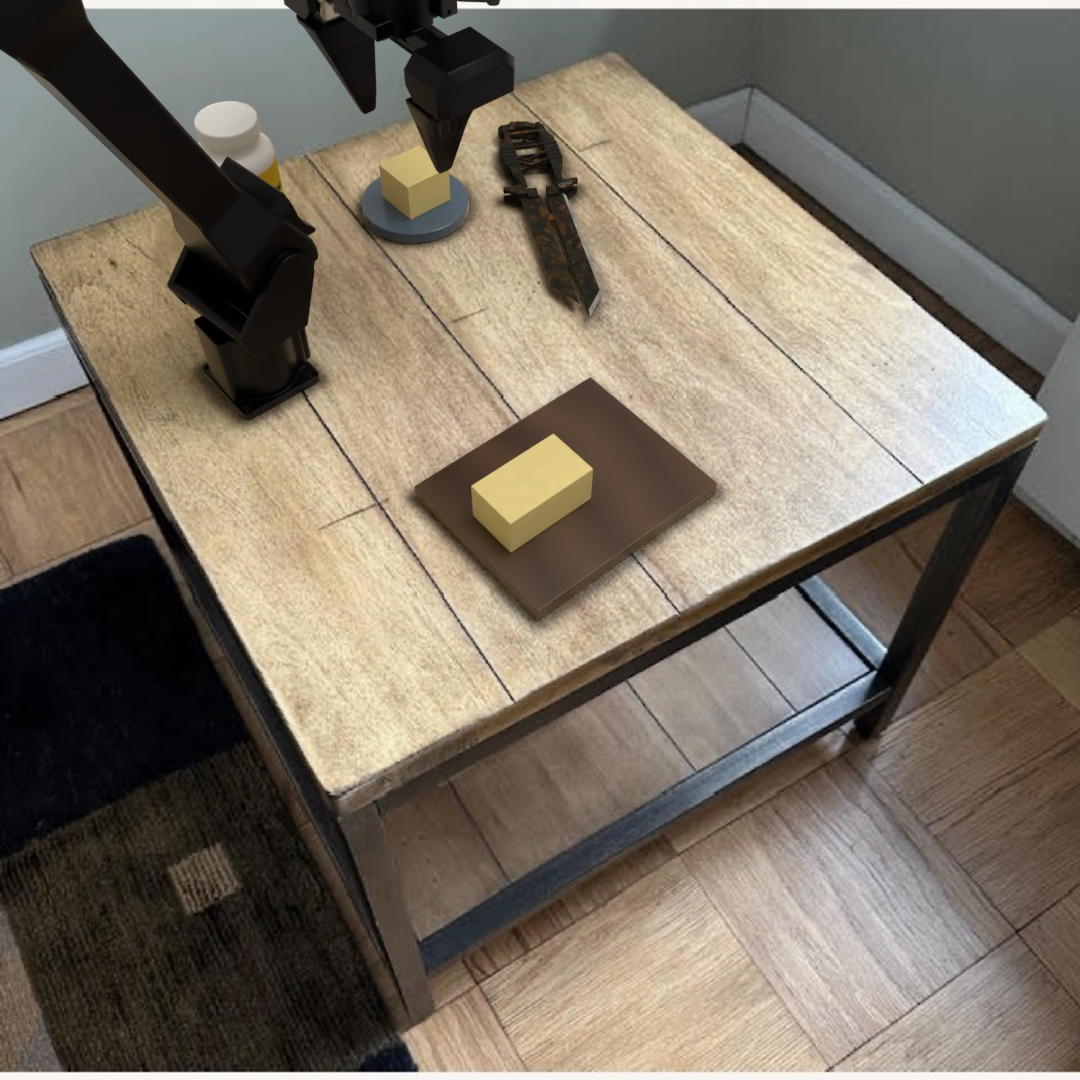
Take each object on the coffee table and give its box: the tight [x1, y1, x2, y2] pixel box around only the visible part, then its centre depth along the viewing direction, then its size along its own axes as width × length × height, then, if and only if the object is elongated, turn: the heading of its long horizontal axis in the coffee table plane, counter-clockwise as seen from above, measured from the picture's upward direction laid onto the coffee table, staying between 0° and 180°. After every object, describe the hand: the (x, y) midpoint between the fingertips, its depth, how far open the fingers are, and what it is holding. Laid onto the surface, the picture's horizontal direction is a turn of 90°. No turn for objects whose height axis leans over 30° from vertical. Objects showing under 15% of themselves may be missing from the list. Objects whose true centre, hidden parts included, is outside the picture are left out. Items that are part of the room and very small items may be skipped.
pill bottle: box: [193, 100, 284, 193], centre depth 86 cm, size 6×6×11 cm
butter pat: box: [378, 145, 451, 220], centre depth 91 cm, size 4×4×3 cm
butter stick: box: [471, 434, 593, 552], centre depth 72 cm, size 7×4×3 cm, turn 130°
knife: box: [497, 120, 604, 317], centre depth 92 cm, size 25×6×1 cm, turn 8°
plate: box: [361, 173, 470, 244], centre depth 93 cm, size 9×9×1 cm
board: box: [413, 376, 718, 622], centre depth 75 cm, size 16×13×1 cm
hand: (405, 140), depth 79 cm, fingers open, 9 cm apart
